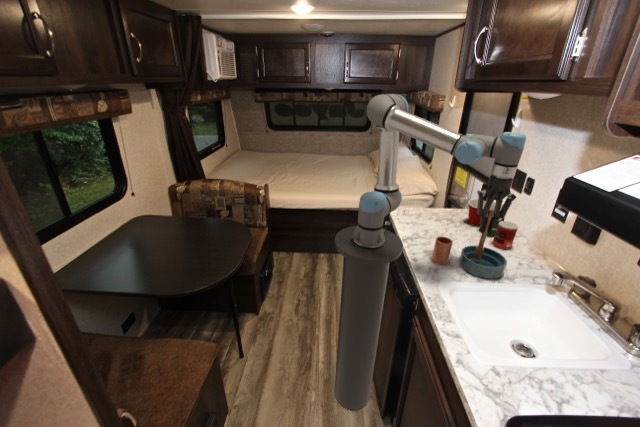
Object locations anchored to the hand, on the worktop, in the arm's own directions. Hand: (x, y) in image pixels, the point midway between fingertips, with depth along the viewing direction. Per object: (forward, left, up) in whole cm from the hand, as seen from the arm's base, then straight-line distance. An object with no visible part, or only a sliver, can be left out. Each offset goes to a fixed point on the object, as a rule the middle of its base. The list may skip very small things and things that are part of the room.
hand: (484, 232), depth 117 cm
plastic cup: (+9, +42, -15) cm, 45 cm away
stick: (0, 0, -12) cm, 12 cm away
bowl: (+1, -2, -15) cm, 15 cm away
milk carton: (+14, +32, -15) cm, 38 cm away
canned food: (+16, +20, -15) cm, 30 cm away
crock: (-15, -1, -15) cm, 21 cm away
